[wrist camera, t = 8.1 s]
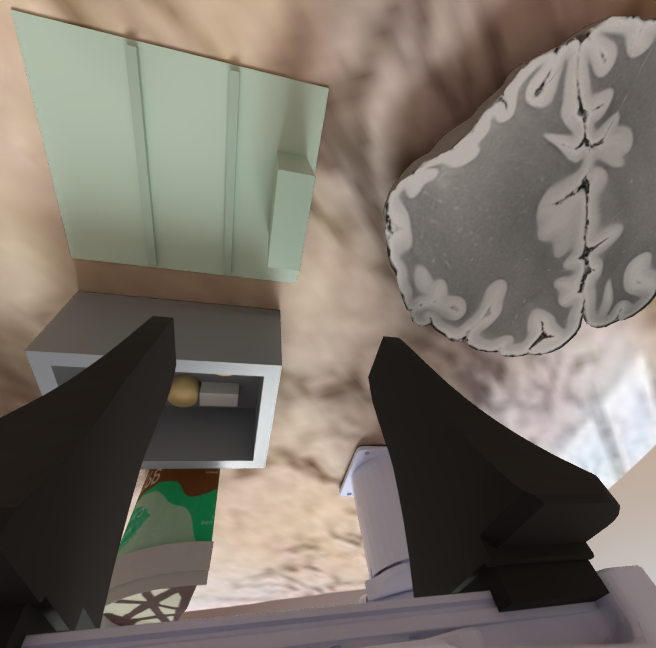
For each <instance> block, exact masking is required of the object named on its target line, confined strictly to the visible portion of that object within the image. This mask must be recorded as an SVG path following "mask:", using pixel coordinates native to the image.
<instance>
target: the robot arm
mask: <svg viewBox="0 0 656 648" xmlns="http://www.w3.org/2000/svg"><path fill="white" fill-rule="evenodd" d="M175 369H176V350H175V333H174V318H171V317H160V316H152V317H151V318H149V319H148V320H147V321H146V322H145V323H143V324H142V325H141V326H140V327H139V328H137V329H136V330H135V331H134V332H133V333H131V334H130V335H129V336H128V337H127V338H125V339H124V340H123V341H122V342H120V343H119V344H118V345H117V346H115V347H114V348H113V349H112V350H110V351H109V352H108V353H106V354H105V355H104V356H103V357H101V358H100V359H98V360H97V361H96V362H94V363H93V364H91V365H90V366H89V367H87V368H86V369H84V370H83V371H82V372H80V373H79V374H77V375H76V376H74V377H73V378H71V379H70V380H68V381H67V382H65V383H63V384H62V385H60V386H58V387H57V388H55V389H53V390H52V391H50V392H48V393H47V394H45V395H43V396H41V397H40V398H38V399H36V400H34V401H32V402H30V403H28V404H27V405H25V406H23V407H21V408H19V409H17V410H15V411H13V412H11V413H9V414H7V415H5V416H3V417H1V418H0V648H656V586H655V584H654V583H653V582H652V581H651V579H650V578H649V577H648V575H647V574H646V573H645V571H644V570H643V569H642V568H641V567H639V566H625V567H613V568H606V569H602V570H599V571H597V572H596V571H595V569H594V568H593V566H592V565H591V563H590V562H589V559H592V558H594V554H593V552H592V551H591V549H590V548H589V546H588V545H587V543H586V541H588V540H589V539H591V538H592V537H593V536H595V535H596V534H598V533H599V532H600V531H601V530H603V529H604V528H606V527H607V526H608V525H609V524H611V523H612V522H613V521H614V520H615V519H616V517H617V516H618V514H619V510H620V505H619V504H618V502H617V501H616V500H615V498H614V497H613V496H612V495H611V493H610V492H609V491H608V490H607V488H606V487H605V486H604V485H603V483H602V482H601V481H600V480H599V478H598V477H597V476H596V475H594V474H592V473H590V472H588V471H586V470H584V469H582V468H579V467H577V466H575V465H573V464H571V463H569V462H567V461H565V460H563V459H561V458H559V457H557V456H555V455H553V454H551V453H549V452H548V451H546V450H544V449H542V448H540V447H538V446H537V445H535V444H533V443H531V442H530V441H528V440H526V439H524V438H523V437H521V436H519V435H518V434H516V433H515V432H513V431H511V430H510V429H508V428H507V427H505V426H504V425H502V424H500V423H499V422H497V421H496V420H494V419H493V418H492V417H490V416H489V415H487V414H486V413H484V412H483V411H482V410H480V409H479V408H478V407H476V406H475V405H474V404H472V403H471V402H470V401H468V400H467V399H466V398H465V397H463V396H462V395H461V394H460V393H459V392H457V391H456V390H455V389H454V388H453V387H452V386H450V385H449V384H448V383H447V382H446V381H445V380H444V379H442V378H441V377H440V376H439V375H438V374H437V373H436V372H435V371H434V370H433V369H432V368H431V367H429V366H428V365H427V364H426V363H425V362H424V361H423V360H422V359H421V358H420V357H419V356H418V355H417V354H416V353H415V352H414V351H413V350H412V349H411V348H410V347H409V346H408V345H406V344H405V343H404V342H403V341H402V340H401V339H400V338H395V337H384V336H383V339H382V342H381V344H380V347H379V350H378V352H377V355H376V358H375V361H374V363H373V366H372V369H371V371H370V374H369V377H368V378H369V384H370V390H371V396H372V401H373V405H374V408H375V411H376V414H377V418H378V421H379V424H380V427H381V430H382V433H383V436H384V439H385V443H386V446H361V447H358V448H357V449H356V452H355V454H354V456H353V459H352V461H351V464H350V466H349V469H348V471H347V473H346V476H345V478H344V481H343V483H342V486H341V488H340V490H339V493H340V496H354V499H355V505H356V510H357V515H358V520H359V525H360V530H361V536H362V541H363V546H364V551H365V556H366V561H367V567H368V572H369V577H370V580H367V581H365V586H366V592H367V594H366V595H363V596H362V597H361V598H360V601H359V603H356V604H347V605H335V606H325V607H315V608H304V609H295V610H285V611H273V612H263V613H252V614H242V615H232V616H221V617H212V618H201V619H191V620H180V621H170V622H159V623H149V624H139V625H128V626H118V627H108V628H100V626H101V622H102V617H103V613H104V609H105V604H106V600H107V596H108V591H109V587H110V583H111V578H112V574H113V570H114V566H115V562H116V558H117V554H118V550H119V546H120V542H121V538H122V534H123V530H124V526H125V522H126V519H127V515H128V511H129V507H130V504H131V500H132V496H133V493H134V489H135V486H136V482H137V479H138V475H139V471H140V468H141V465H142V462H143V459H144V456H145V454H146V451H147V449H148V446H149V444H150V441H151V439H152V436H153V434H154V431H155V429H156V426H157V424H158V421H159V419H160V416H161V413H162V411H163V408H164V406H165V403H166V401H167V398H168V396H169V393H170V389H171V385H172V382H173V378H174V373H175Z"/></svg>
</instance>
